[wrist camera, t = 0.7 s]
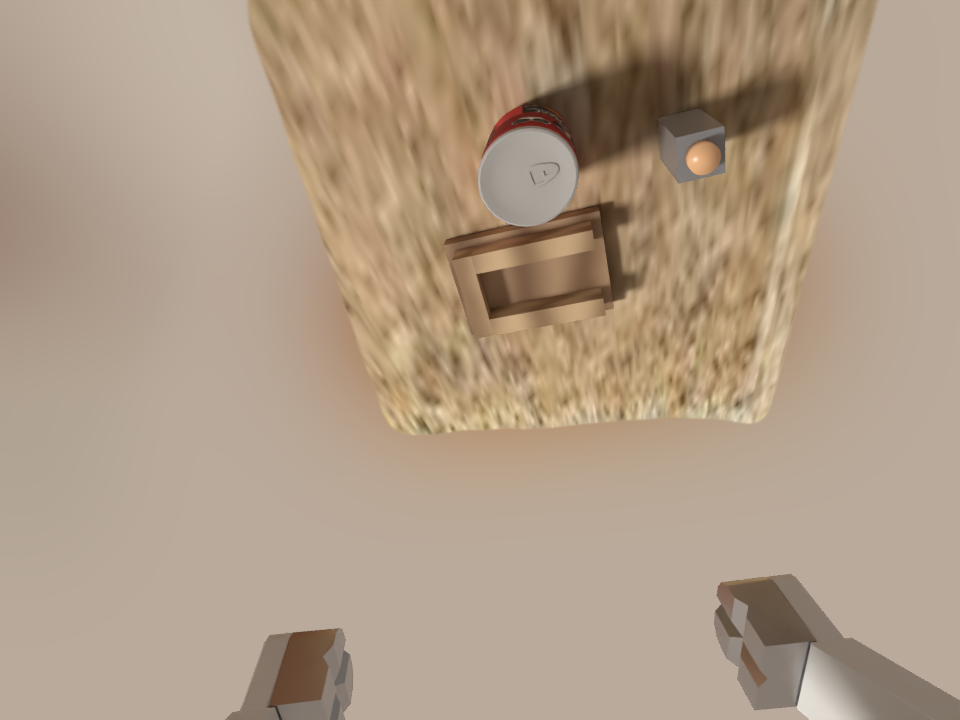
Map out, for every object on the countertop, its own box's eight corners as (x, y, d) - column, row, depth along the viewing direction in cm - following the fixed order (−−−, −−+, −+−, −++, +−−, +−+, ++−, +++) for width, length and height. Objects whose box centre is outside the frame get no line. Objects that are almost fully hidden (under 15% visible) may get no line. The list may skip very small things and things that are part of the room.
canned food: (588, 152, 50) (598, 186, 41) (521, 204, 54) (517, 246, 45) (539, 82, 48) (539, 102, 38) (471, 141, 51) (457, 173, 42)
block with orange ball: (699, 107, 47) (729, 129, 40) (700, 148, 49) (729, 176, 42) (657, 118, 48) (678, 141, 41) (660, 158, 50) (681, 187, 43)
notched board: (598, 205, 53) (602, 219, 50) (612, 301, 59) (616, 320, 56) (445, 240, 57) (439, 255, 53) (473, 327, 62) (469, 346, 59)
